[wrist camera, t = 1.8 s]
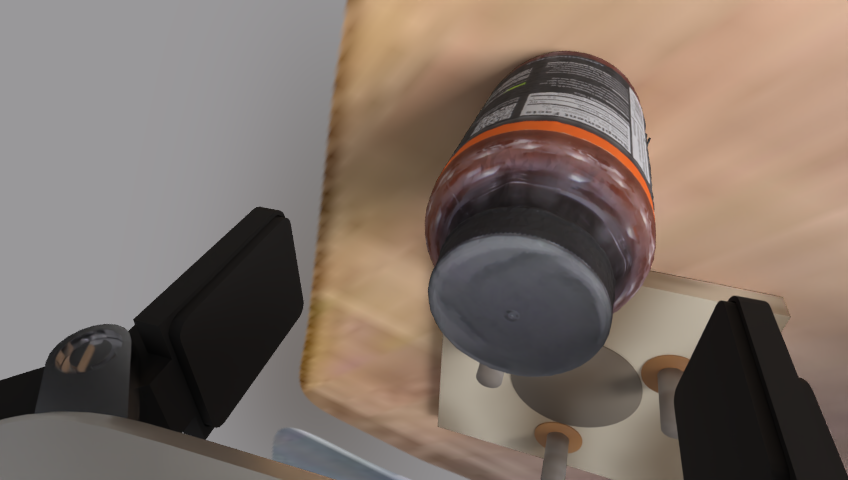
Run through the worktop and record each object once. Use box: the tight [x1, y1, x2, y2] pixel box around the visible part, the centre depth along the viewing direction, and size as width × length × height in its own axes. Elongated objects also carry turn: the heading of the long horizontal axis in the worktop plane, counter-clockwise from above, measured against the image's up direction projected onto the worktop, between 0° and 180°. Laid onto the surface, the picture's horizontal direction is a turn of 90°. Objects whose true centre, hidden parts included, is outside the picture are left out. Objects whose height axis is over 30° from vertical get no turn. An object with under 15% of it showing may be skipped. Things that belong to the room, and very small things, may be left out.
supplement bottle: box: [425, 51, 656, 377], centre depth 15 cm, size 6×6×11 cm
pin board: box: [438, 271, 790, 480], centre depth 25 cm, size 14×14×4 cm
